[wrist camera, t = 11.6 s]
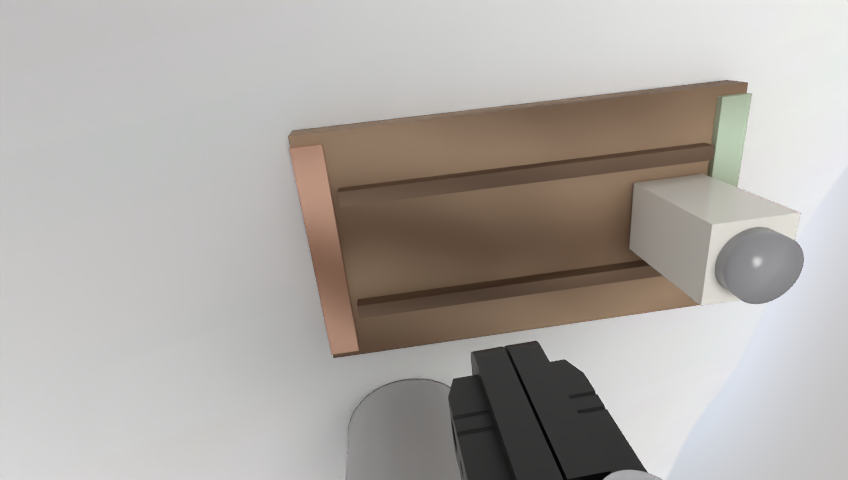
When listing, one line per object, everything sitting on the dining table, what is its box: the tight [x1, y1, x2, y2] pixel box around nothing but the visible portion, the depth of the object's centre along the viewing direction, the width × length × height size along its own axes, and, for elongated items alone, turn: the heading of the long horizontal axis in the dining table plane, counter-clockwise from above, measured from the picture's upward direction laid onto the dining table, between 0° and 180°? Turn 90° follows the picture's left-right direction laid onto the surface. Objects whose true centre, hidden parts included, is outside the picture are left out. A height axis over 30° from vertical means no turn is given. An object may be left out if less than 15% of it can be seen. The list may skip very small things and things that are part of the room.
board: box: [288, 80, 752, 358], centre depth 21 cm, size 10×18×2 cm, turn 96°
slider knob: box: [629, 174, 804, 306], centre depth 18 cm, size 3×3×6 cm
